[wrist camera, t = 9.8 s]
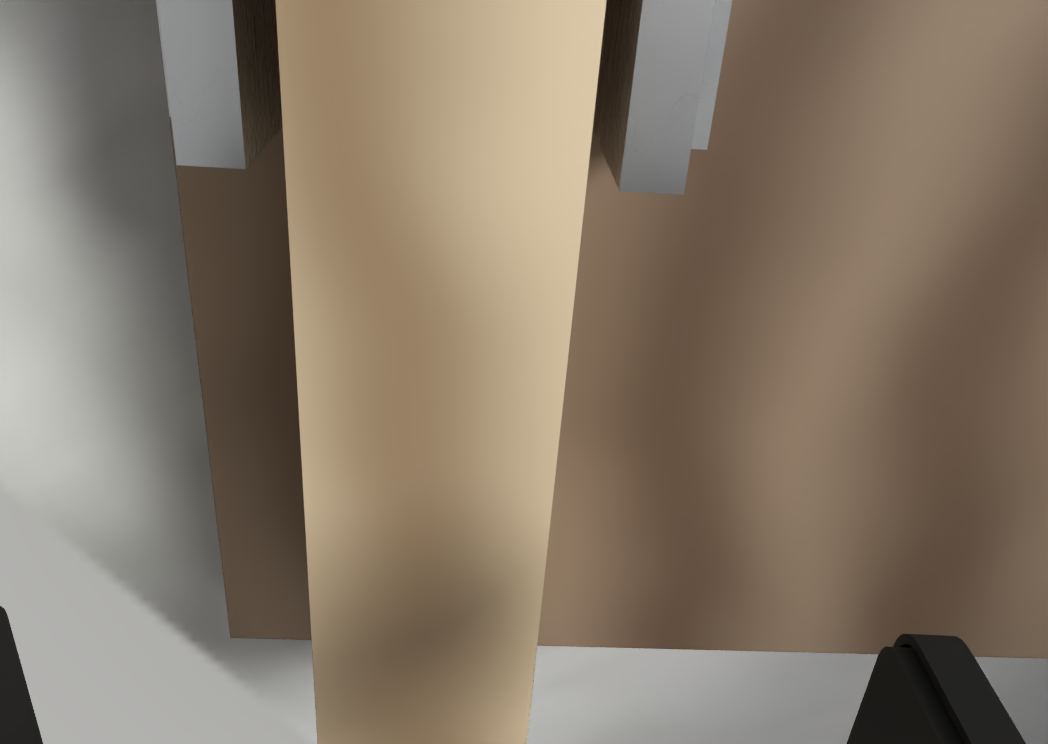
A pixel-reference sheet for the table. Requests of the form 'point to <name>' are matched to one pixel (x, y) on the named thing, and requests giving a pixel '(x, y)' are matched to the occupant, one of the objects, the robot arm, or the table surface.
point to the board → (742, 355)
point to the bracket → (623, 110)
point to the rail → (432, 343)
